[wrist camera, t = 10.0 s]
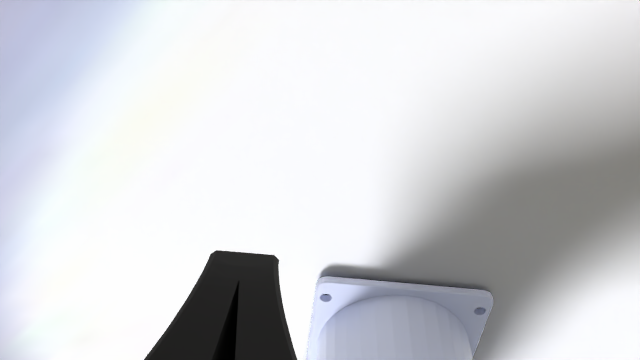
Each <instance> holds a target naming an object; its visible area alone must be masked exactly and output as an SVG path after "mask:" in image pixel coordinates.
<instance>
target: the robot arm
mask: <svg viewBox="0 0 640 360" xmlns="http://www.w3.org/2000/svg"><path fill="white" fill-rule="evenodd" d="M278 264H279V260H278V259H277V258H276V257H275V256H274V255H265V254H253V253H241V252H229V251H217V250H216V251H215V252H213V253H212V254H211V255H210V257H209V260H208V262H207V264H206V266H205V268H204V270H203V272H202V274H201V276H200V278H199V279H198V281H197V283H196V285H195V286H194V288H193V290H192V291H191V293H190V295H189V296H188V298H187V300H186V301H185V303H184V304H183V306H182V307H181V309H180V310H179V312H178V313H177V315H176V316H175V318H174V319H173V321H172V322H171V324H170V325H169V327H168V328H167V330H166V331H165V332H164V334H163V335H162V336H161V338H160V339H159V340H158V342H157V343H156V344H155V346H154V347H153V348H152V350H151V351H150V352H149V354H148V355H147V356H146V358H145V359H144V360H297V358H296V355H295V351H294V348H293V345H292V341H291V337H290V333H289V330H288V326H287V322H286V318H285V313H284V309H283V304H282V298H281V292H280V285H279V272H278ZM322 294H329V295H322ZM493 303H494V300H493V296H492V294H491V293H490V292H489V291H486V290H477V289H466V288H455V287H443V286H432V285H421V284H410V283H398V282H387V281H376V280H365V279H353V278H342V277H331V276H324V277H321V278H319V279H318V280H317V282H316V287H315V295H314V302H313V310H312V317H311V325H310V333H309V340H308V348H307V355H306V360H473V356H474V354H475V351H476V348H477V346H478V343H479V340H480V338H481V335H482V333H483V330H484V327H485V325H486V322H487V319H488V317H489V314H490V312H491V309H492V306H493ZM478 307H482V308H479V309H476V308H478Z"/></svg>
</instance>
